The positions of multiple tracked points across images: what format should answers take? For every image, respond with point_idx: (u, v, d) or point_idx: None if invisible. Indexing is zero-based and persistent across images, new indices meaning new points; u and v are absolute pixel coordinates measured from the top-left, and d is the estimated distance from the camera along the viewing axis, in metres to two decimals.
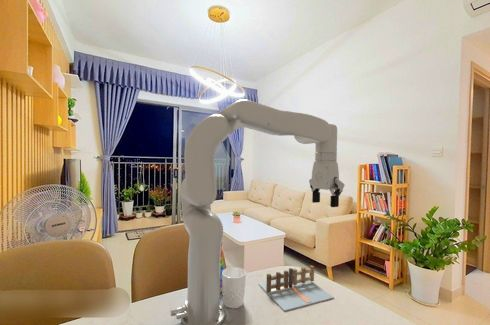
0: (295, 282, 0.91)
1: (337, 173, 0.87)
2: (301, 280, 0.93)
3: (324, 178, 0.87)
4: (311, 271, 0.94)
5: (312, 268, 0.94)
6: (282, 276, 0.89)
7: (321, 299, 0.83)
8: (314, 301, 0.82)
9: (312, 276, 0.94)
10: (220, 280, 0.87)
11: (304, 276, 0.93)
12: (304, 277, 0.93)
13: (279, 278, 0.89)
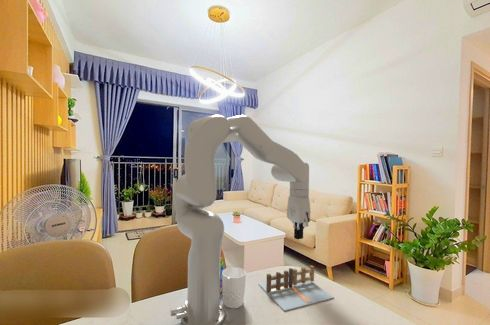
0: (295, 282, 0.91)
1: (308, 208, 0.95)
2: (301, 280, 0.93)
3: (297, 212, 0.95)
4: (311, 271, 0.94)
5: (312, 268, 0.94)
6: (282, 276, 0.89)
7: (321, 299, 0.83)
8: (314, 301, 0.82)
9: (312, 276, 0.94)
10: (220, 280, 0.87)
11: (304, 276, 0.93)
12: (304, 277, 0.93)
13: (279, 278, 0.89)
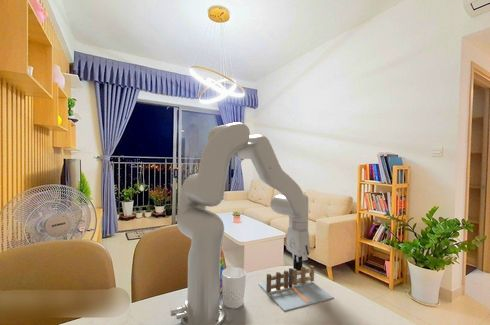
0: (295, 282, 0.91)
1: (308, 241, 0.95)
2: (301, 280, 0.93)
3: (296, 245, 0.96)
4: (311, 271, 0.94)
5: (312, 268, 0.94)
6: (282, 276, 0.89)
7: (321, 299, 0.83)
8: (314, 301, 0.82)
9: (312, 276, 0.94)
10: (220, 280, 0.87)
11: (304, 276, 0.93)
12: (304, 277, 0.93)
13: (279, 278, 0.89)
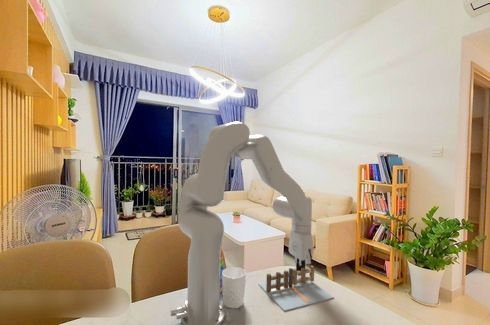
0: (295, 282, 0.91)
1: (311, 245, 0.93)
2: (301, 280, 0.93)
3: (299, 249, 0.93)
4: (311, 271, 0.94)
5: (312, 268, 0.94)
6: (282, 276, 0.89)
7: (321, 299, 0.83)
8: (314, 301, 0.82)
9: (312, 276, 0.94)
10: (220, 280, 0.87)
11: (304, 276, 0.93)
12: (304, 277, 0.93)
13: (279, 278, 0.89)
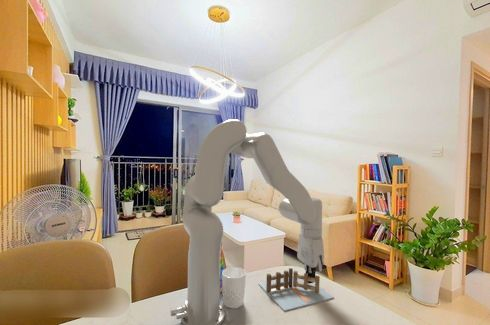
0: (294, 284, 0.90)
1: (322, 250, 0.86)
2: (302, 285, 0.89)
3: (309, 255, 0.87)
4: (315, 281, 0.86)
5: (316, 278, 0.86)
6: (282, 276, 0.89)
7: (321, 299, 0.83)
8: (314, 301, 0.82)
9: (316, 287, 0.86)
10: (220, 280, 0.87)
11: (305, 283, 0.88)
12: (305, 284, 0.88)
13: (279, 278, 0.89)
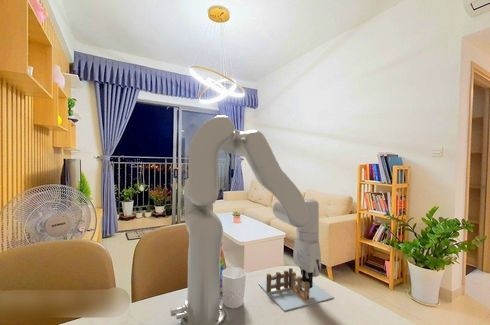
0: (291, 285, 0.89)
1: (319, 255, 0.81)
2: (296, 288, 0.87)
3: (305, 260, 0.82)
4: (304, 286, 0.83)
5: (305, 284, 0.82)
6: (282, 276, 0.89)
7: (321, 299, 0.83)
8: (314, 301, 0.82)
9: (305, 293, 0.82)
10: (220, 280, 0.87)
11: (298, 286, 0.86)
12: (298, 287, 0.86)
13: (279, 278, 0.89)
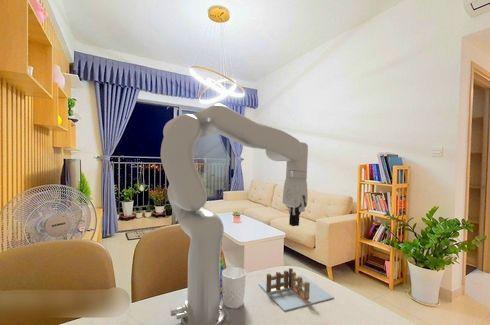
0: (291, 285, 0.89)
1: (305, 191, 0.87)
2: (296, 288, 0.87)
3: (292, 196, 0.87)
4: (304, 286, 0.83)
5: (305, 284, 0.82)
6: (282, 276, 0.89)
7: (321, 299, 0.83)
8: (314, 301, 0.82)
9: (305, 293, 0.82)
10: (220, 280, 0.87)
11: (298, 286, 0.86)
12: (298, 287, 0.86)
13: (279, 278, 0.89)
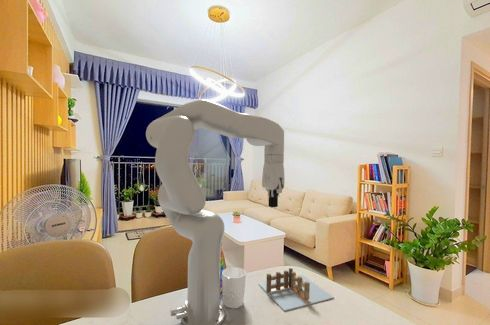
0: (291, 285, 0.89)
1: (282, 174, 0.92)
2: (296, 288, 0.87)
3: (270, 179, 0.92)
4: (304, 286, 0.83)
5: (305, 284, 0.82)
6: (282, 276, 0.89)
7: (321, 299, 0.83)
8: (314, 301, 0.82)
9: (305, 293, 0.82)
10: (220, 280, 0.87)
11: (298, 286, 0.86)
12: (298, 287, 0.86)
13: (279, 278, 0.89)
